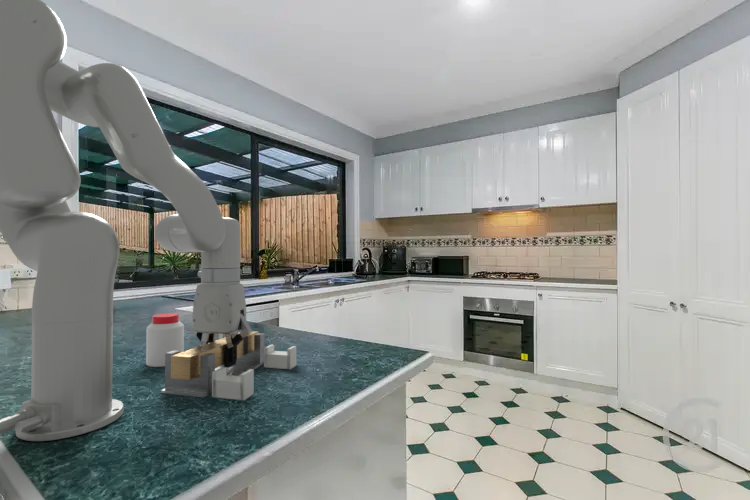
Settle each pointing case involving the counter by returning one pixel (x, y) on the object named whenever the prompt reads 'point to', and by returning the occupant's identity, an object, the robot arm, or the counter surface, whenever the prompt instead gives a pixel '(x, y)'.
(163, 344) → the pill bottle
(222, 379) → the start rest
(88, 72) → the robot arm
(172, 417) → the counter surface
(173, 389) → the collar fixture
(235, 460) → the counter surface
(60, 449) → the counter surface
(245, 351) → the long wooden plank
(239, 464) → the counter surface
